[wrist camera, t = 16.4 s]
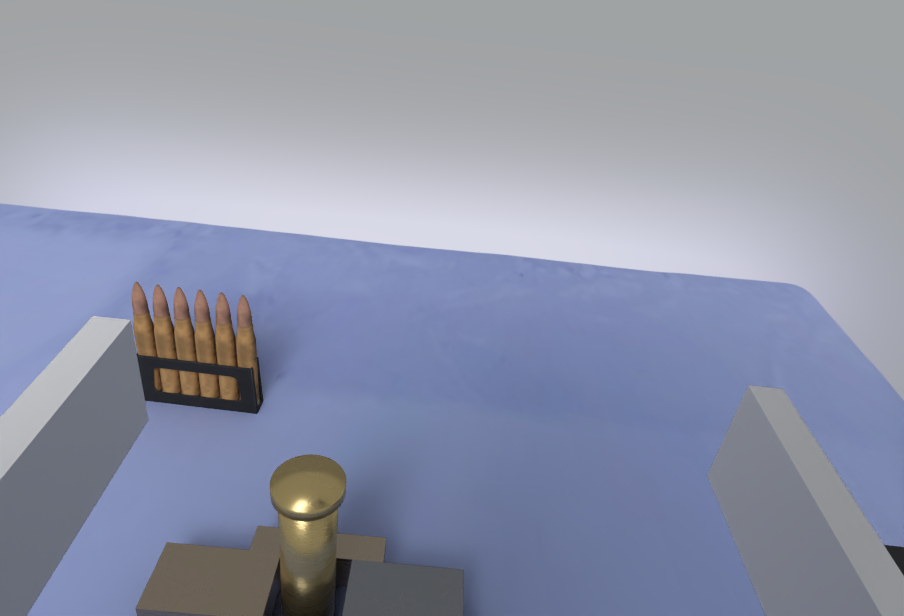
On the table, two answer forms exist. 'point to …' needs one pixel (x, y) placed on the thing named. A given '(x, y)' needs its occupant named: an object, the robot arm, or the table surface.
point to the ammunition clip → (196, 353)
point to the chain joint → (258, 581)
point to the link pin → (308, 532)
